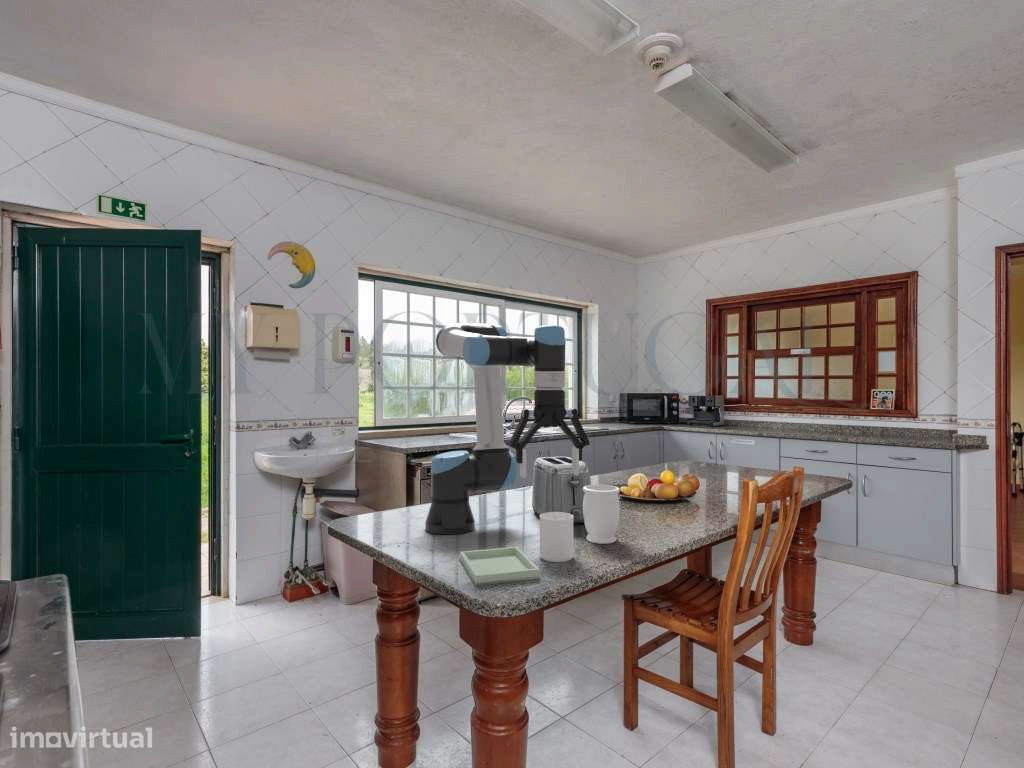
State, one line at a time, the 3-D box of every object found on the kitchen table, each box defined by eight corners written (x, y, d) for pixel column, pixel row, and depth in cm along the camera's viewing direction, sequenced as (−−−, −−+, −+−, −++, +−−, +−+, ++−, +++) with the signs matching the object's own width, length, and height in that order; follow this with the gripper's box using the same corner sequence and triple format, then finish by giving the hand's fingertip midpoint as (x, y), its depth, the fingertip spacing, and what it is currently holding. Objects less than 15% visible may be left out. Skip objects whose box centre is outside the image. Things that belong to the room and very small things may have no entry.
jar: (625, 544, 150) (625, 490, 150) (589, 546, 148) (589, 491, 148) (612, 534, 161) (612, 483, 161) (578, 535, 159) (578, 484, 159)
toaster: (549, 529, 166) (549, 467, 166) (524, 508, 194) (524, 455, 194) (600, 526, 170) (600, 465, 170) (569, 505, 198) (569, 453, 198)
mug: (556, 547, 148) (556, 507, 148) (579, 560, 137) (579, 517, 137) (528, 551, 145) (528, 511, 145) (549, 564, 134) (549, 521, 134)
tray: (460, 560, 137) (460, 551, 137) (516, 555, 141) (516, 546, 141) (475, 585, 120) (475, 576, 120) (540, 578, 124) (540, 569, 124)
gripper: (504, 389, 126) (504, 480, 126) (602, 389, 133) (602, 475, 133) (496, 389, 133) (496, 475, 134) (590, 388, 140) (590, 470, 140)
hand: (549, 475), depth 133 cm, fingers open, 13 cm apart
